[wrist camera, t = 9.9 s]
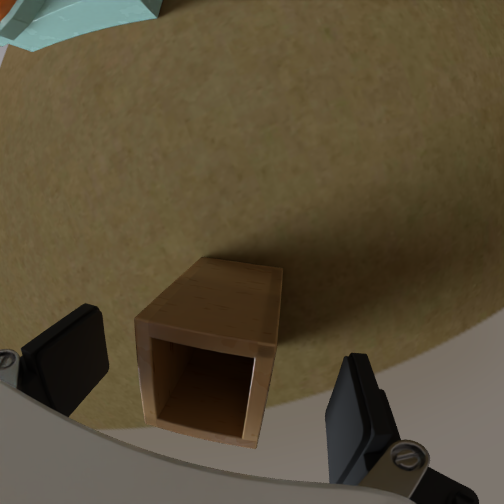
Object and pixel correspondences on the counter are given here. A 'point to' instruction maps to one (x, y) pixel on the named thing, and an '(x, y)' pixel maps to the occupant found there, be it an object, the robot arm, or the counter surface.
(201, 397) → the open wooden box
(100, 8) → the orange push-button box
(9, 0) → the button
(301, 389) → the counter surface
